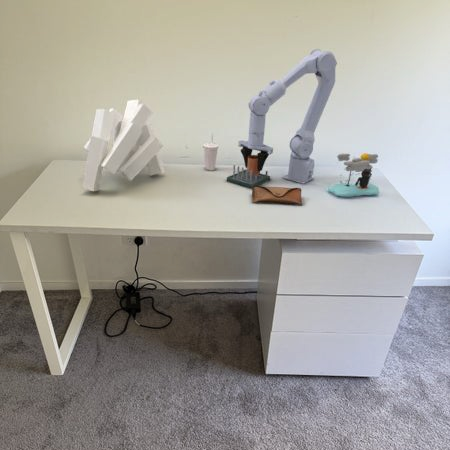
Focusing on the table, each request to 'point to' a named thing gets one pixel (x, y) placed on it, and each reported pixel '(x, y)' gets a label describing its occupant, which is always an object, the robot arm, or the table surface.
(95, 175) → the pile of blocks
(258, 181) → the rack
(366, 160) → the penguin figurine
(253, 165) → the cup
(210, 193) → the table surface
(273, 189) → the sunglasses case
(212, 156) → the smoothie
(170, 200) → the table surface
